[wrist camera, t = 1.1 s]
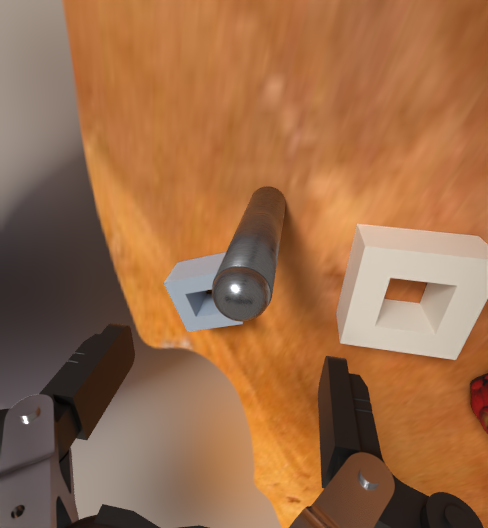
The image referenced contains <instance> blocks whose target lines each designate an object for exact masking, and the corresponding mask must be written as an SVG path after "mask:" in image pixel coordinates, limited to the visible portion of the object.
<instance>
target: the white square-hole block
mask: <svg viewBox="0 0 488 528" xmlns="http://www.w3.org/2000/svg"><path fill="white" fill-rule="evenodd" d="M390 278H396V279H405V280H413V281H421V282H428V283H427V286H426V288H425V291H424V293H423V296H422V298H421V301H420V303H414V302H406V301H398V300H390V299H384V296H385V293H386V290H387V287H388V284H389V281H390ZM487 299H488V244H487V243H486V242H485V241H484V240H482V239H481V238H480V237H479V236H474V235H464V234H454V233H444V232H434V231H424V230H414V229H404V228H394V227H384V226H375V225H365V224H357V226H356V231H355V235H354V239H353V243H352V248H351V252H350V256H349V260H348V265H347V269H346V273H345V277H344V282H343V286H342V290H341V294H340V299H339V303H338V307H337V311H336V316H337V324H338V331H339V339H340V343H342V344H349V345H355V346H362V347H369V348H376V349H383V350H390V351H397V352H404V353H411V354H418V355H425V356H432V357H439V358H445V359H452V360H456V359H457V357H458V355H459V353H460V351H461V349H462V347H463V345H464V343H465V341H466V340H467V338H468V336H469V334H470V332H471V330H472V328H473V326H474V324H475V322H476V320H477V318H478V316H479V314H480V313H481V311H482V309H483V307H484V305H485V303H486V301H487Z"/></svg>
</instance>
